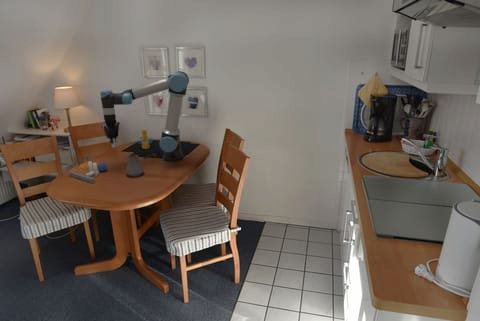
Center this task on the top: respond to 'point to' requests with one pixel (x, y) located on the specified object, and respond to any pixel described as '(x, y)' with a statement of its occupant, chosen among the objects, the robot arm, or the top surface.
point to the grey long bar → (82, 177)
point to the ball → (102, 166)
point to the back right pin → (90, 166)
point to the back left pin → (95, 169)
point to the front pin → (90, 174)
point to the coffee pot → (135, 165)
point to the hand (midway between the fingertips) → (114, 147)
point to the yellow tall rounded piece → (145, 140)
